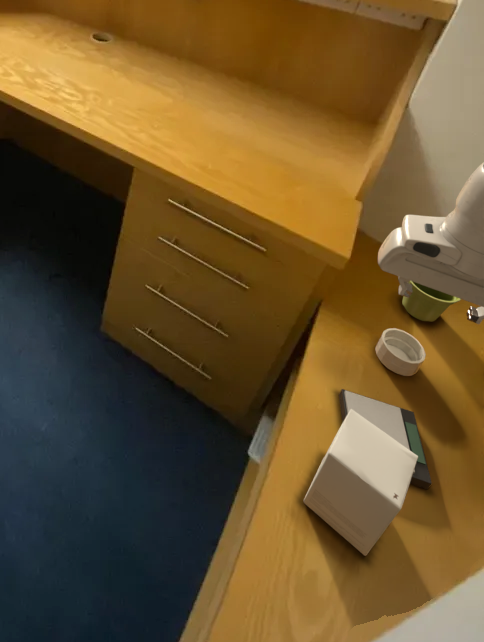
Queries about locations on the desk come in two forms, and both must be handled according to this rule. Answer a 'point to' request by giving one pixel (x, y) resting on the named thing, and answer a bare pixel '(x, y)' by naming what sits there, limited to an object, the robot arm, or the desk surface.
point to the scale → (390, 428)
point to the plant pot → (427, 302)
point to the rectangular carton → (361, 482)
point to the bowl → (400, 352)
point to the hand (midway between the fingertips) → (437, 306)
